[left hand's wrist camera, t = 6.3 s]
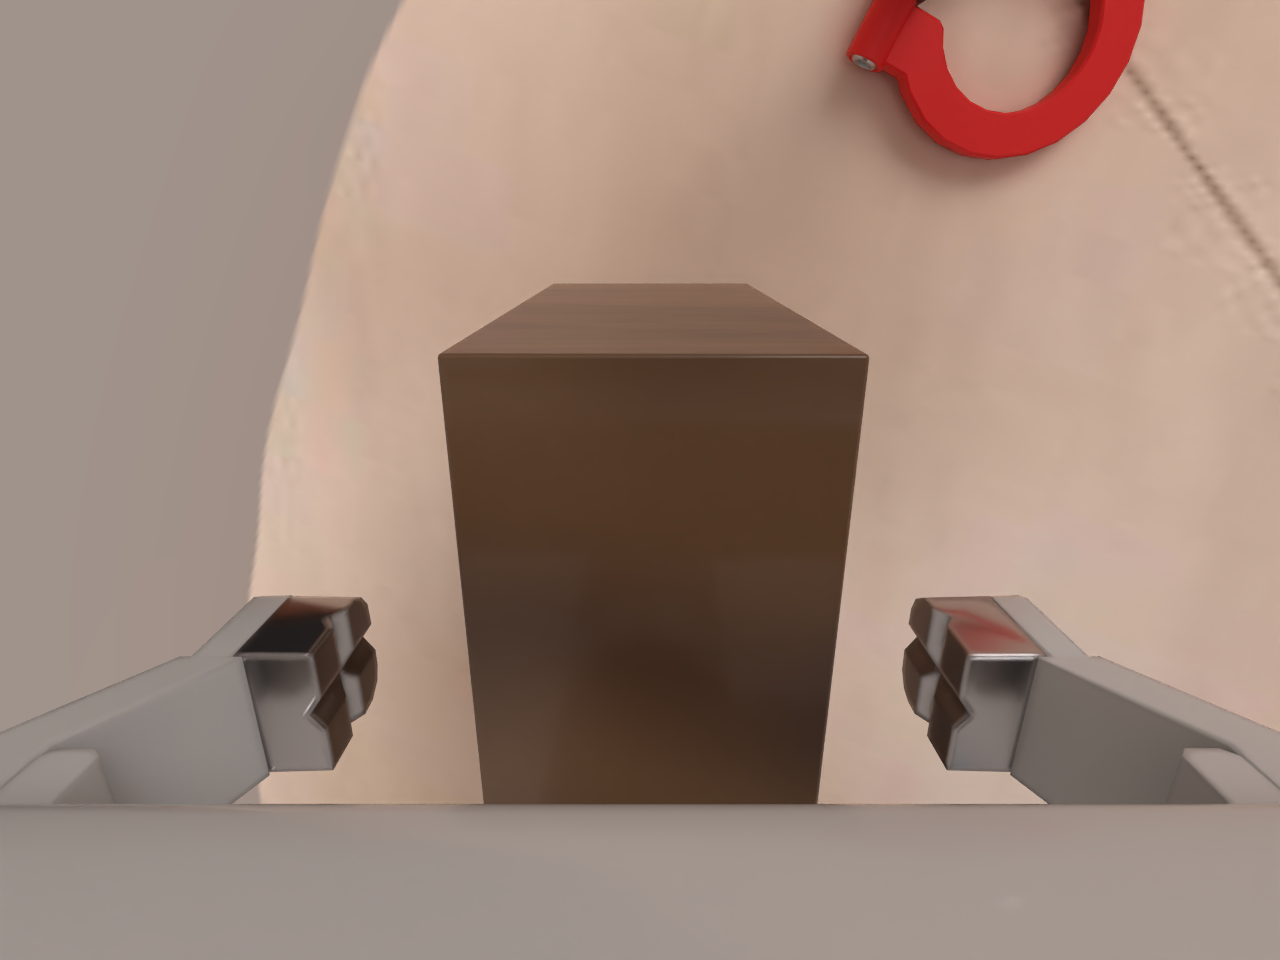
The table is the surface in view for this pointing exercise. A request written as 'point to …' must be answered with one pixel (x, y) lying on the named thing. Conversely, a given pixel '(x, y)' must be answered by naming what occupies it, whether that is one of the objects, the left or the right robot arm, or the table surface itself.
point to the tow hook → (917, 60)
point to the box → (652, 541)
